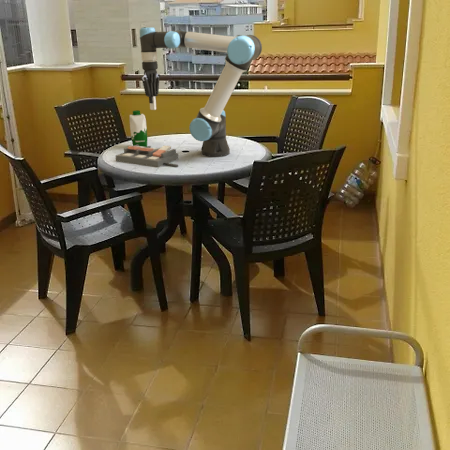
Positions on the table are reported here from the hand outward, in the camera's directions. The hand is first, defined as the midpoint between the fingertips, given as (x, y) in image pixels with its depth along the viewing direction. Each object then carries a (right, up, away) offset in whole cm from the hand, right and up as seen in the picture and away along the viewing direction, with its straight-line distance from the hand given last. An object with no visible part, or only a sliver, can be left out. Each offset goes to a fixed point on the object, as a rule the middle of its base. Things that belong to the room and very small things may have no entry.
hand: (153, 109), depth 269 cm
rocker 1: (-9, -19, +7) cm, 22 cm away
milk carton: (-11, -15, +29) cm, 35 cm away
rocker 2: (+5, -22, -1) cm, 22 cm away
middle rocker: (-2, -20, +3) cm, 21 cm away
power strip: (0, -26, +1) cm, 26 cm away
